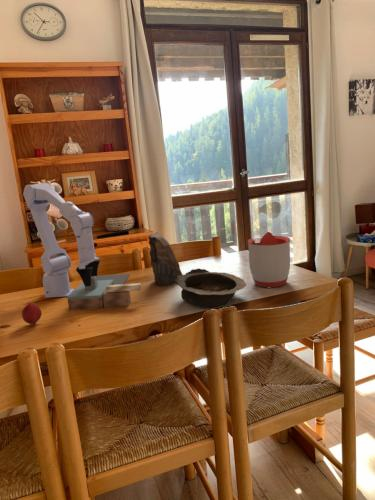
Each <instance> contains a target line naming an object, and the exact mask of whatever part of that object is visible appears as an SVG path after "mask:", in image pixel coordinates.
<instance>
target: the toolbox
mask: <svg viewBox="0 0 375 500" xmlns="http://www.w3.org/2000/svg"><path fill="white" fill-rule="evenodd" d="M112 285H114V282H113V283H112ZM131 299H132V298H131V291H122V292H106V290H105V292H104V293H103V296H102V298H90V299H73V300H68V299H67V304H68V310H69V311H84V310H85V311H87V310H101V309H104V308H120V307H121V308H123V307H129V306H130V304H131V302H132V300H131Z"/></svg>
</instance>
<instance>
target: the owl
mask: <svg viewBox="0 0 375 500" xmlns="http://www.w3.org/2000/svg"><path fill="white" fill-rule="evenodd" d="M147 238H148V242H147V243H148V244H149V247H150V248H149V249H150V251H149V256H150V266H151V268H152V273H153V275H154V286H158V287H160V288H165V287H168V286H170V285H173V284H176V283H175V281H174V278H176V277H177V275H184V274H183V273H182V271H181V268H180V264H179V261H178V260H177V258H176V255H175V253H174V250H173V248H172V247H171V244H170V242H169V241H168V239H166V238H165V237H164V236H163V235H161V234H160V233H159V232H158V231H156V232H155V233H151V234H149V235H148V237H147Z"/></svg>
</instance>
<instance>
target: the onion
mask: <svg viewBox="0 0 375 500" xmlns="http://www.w3.org/2000/svg"><path fill="white" fill-rule="evenodd" d="M42 313H43V312H42V309H41V308H40V307H39V306H38V305H36V304H34V303H33V301H32V300H30V301H28V303H27V304H26V305H25V307H24V308H23V309H22V311H21V318H22V319H23V321H24V322H25V323H27V324H30V325H36V324H37V323H38V321H39V320H40V319H41V317H42Z"/></svg>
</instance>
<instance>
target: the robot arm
mask: <svg viewBox="0 0 375 500" xmlns="http://www.w3.org/2000/svg"><path fill="white" fill-rule="evenodd" d="M22 195H23V198H24V200H25V203H26V206H27V208H28V209H29V210H30V213H31V215H32V218H33V221H34V224H35V227H36V229H37V232H38V235H39V237H40V240H41V243H42V246H43V249H44V252H43V253H42V255H41V256H40V259H41V265H42V266H41V267H42V270H43V272H44V274H43V276H42V285H43V292H44V296H43V297H44V298H46V299H48V298H62V297H63V298H65V297H68V296H69V295H70V294H71V293H72V292H73V291H74V290H75V289H74V288H71V284H70V279H69V272H68V271H70V268H71V266H72V261H71V258H70V256H69V255H68V254H67V253H68V252H67V250H66V249H64V248H62V247H60V246H59V244H58V241H57V239H56V236H55V233H54V230H53V228H52V224H51V222H50V219H49V216H48V214H47V211H46V207H47V206H49V205H50V204H51V205H53V206H55V208H57V209H58V210H59V214H60V215H61V216H62V217H63V218H65V219H66V220H67V221H68V222H70V223H69V225H70V228H71V229H72V231H73V234H74V236H75V237H76V238H75V239H76V246H77V252H78V262H79V263H78V266H77V267H76V268H75V270H76V272H77V274H78V275H79V277H80V278H81V280H82V282H83V283H84V286H91V276H98V272H99V271H98V270H99V265H100V262H101V259H99V256H98V257H97V253H96V252H95V244H94V237H93V230H92V228H93V227H94V226H95V225H94V224H95V219H94V216H93V215H92V214H91V213H90V212H88V211H87V212H85V211H83V210H81V209H80V208H79V207H77V206H76V204H75V203H73V201H65V199H63V197H62V196H60V194H58V192H56V188H55V186H54V185H53V184H52V183H50V182H45V183H36V184H35V183H33V184H26V185H25V186H24V189H23V193H22Z"/></svg>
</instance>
